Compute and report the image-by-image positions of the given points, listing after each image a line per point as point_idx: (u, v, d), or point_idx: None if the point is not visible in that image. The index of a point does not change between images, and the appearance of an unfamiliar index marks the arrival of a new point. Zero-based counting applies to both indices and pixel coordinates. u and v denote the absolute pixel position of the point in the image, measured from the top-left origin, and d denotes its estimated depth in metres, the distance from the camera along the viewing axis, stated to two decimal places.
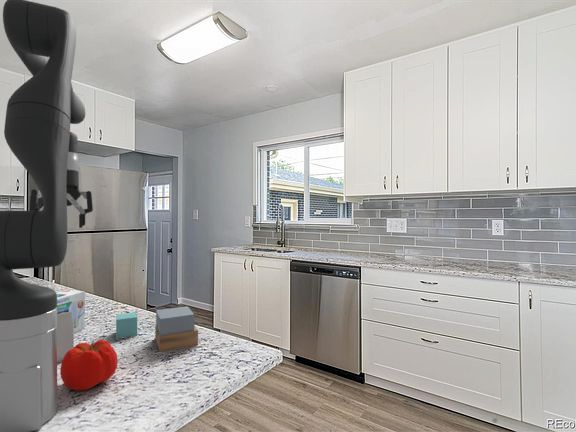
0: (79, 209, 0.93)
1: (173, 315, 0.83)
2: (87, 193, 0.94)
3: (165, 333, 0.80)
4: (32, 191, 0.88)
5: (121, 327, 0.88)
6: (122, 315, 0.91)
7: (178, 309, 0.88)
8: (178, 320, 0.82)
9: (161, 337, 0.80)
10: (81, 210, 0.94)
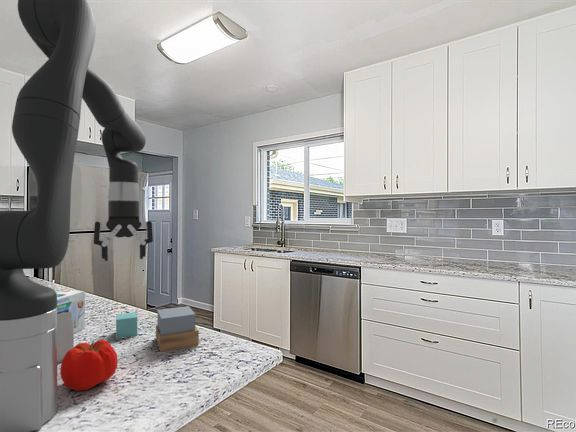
0: (140, 240, 0.91)
1: (174, 315, 0.83)
2: (148, 223, 0.92)
3: (166, 333, 0.81)
4: (96, 223, 0.86)
5: (121, 327, 0.88)
6: (122, 315, 0.91)
7: (180, 308, 0.88)
8: (179, 320, 0.82)
9: (162, 337, 0.79)
10: (142, 241, 0.92)
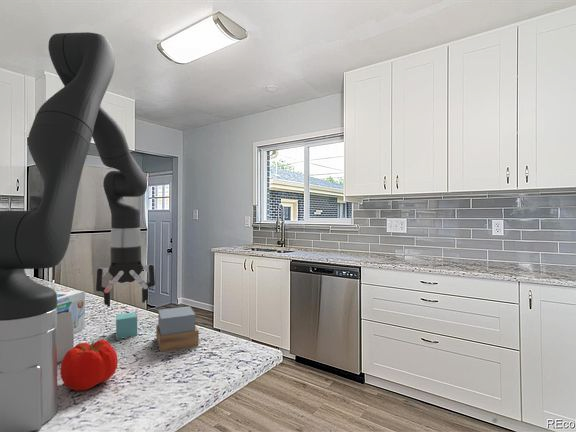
0: (142, 284, 0.92)
1: (174, 315, 0.83)
2: (150, 267, 0.93)
3: (166, 333, 0.80)
4: (98, 270, 0.87)
5: (121, 327, 0.88)
6: (122, 315, 0.91)
7: (180, 309, 0.88)
8: (179, 320, 0.82)
9: (161, 337, 0.79)
10: (144, 285, 0.92)
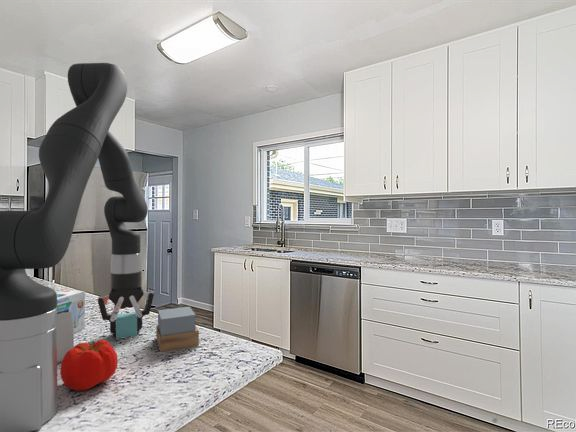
0: (138, 312, 0.91)
1: (174, 315, 0.83)
2: (150, 295, 0.92)
3: (166, 333, 0.80)
4: (99, 301, 0.87)
5: (121, 327, 0.88)
6: (122, 315, 0.91)
7: (180, 309, 0.88)
8: (179, 320, 0.82)
9: (162, 337, 0.79)
10: (139, 314, 0.91)
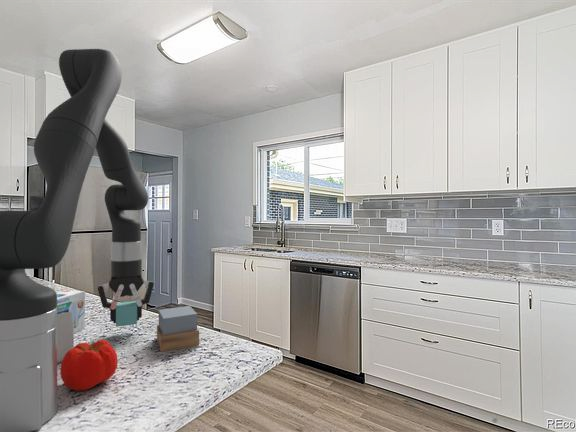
0: (137, 301, 0.91)
1: (176, 314, 0.83)
2: (150, 284, 0.92)
3: (168, 332, 0.81)
4: (99, 288, 0.87)
5: (121, 315, 0.88)
6: (122, 304, 0.90)
7: (181, 308, 0.88)
8: (181, 320, 0.82)
9: (162, 337, 0.80)
10: (138, 302, 0.91)
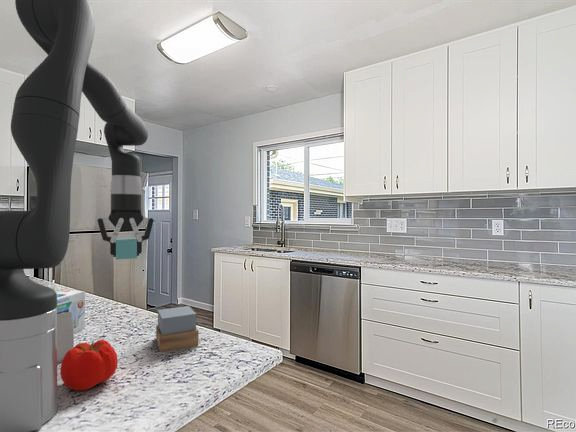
0: (137, 236, 0.91)
1: (174, 314, 0.83)
2: (149, 220, 0.92)
3: (167, 332, 0.81)
4: (99, 220, 0.87)
5: (121, 248, 0.88)
6: (121, 239, 0.91)
7: (180, 308, 0.88)
8: (180, 320, 0.82)
9: (161, 337, 0.79)
10: (138, 238, 0.91)
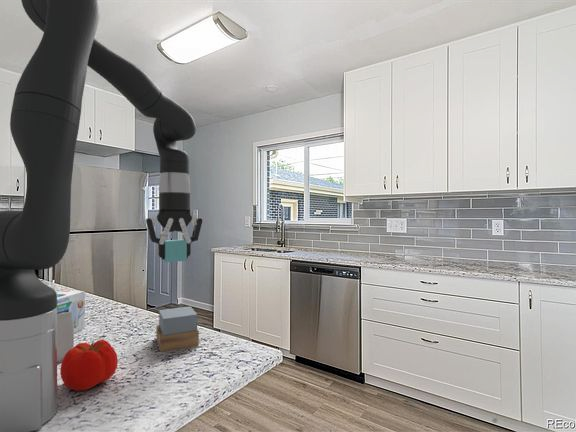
0: (186, 237, 0.85)
1: (176, 315, 0.83)
2: (198, 220, 0.87)
3: (168, 333, 0.80)
4: (148, 221, 0.81)
5: (170, 250, 0.82)
6: (170, 240, 0.85)
7: (181, 309, 0.88)
8: (181, 320, 0.82)
9: (162, 337, 0.79)
10: (187, 239, 0.86)
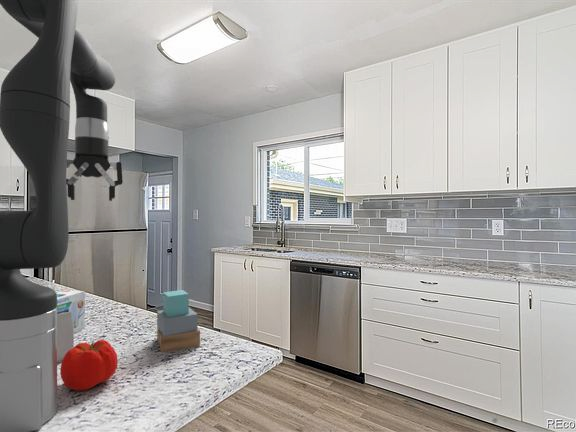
0: (109, 181, 0.88)
1: None
2: (117, 164, 0.89)
3: (169, 333, 0.80)
4: None
5: (173, 304, 0.82)
6: (171, 293, 0.84)
7: None
8: (182, 320, 0.82)
9: (163, 337, 0.79)
10: (111, 182, 0.89)
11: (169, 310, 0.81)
